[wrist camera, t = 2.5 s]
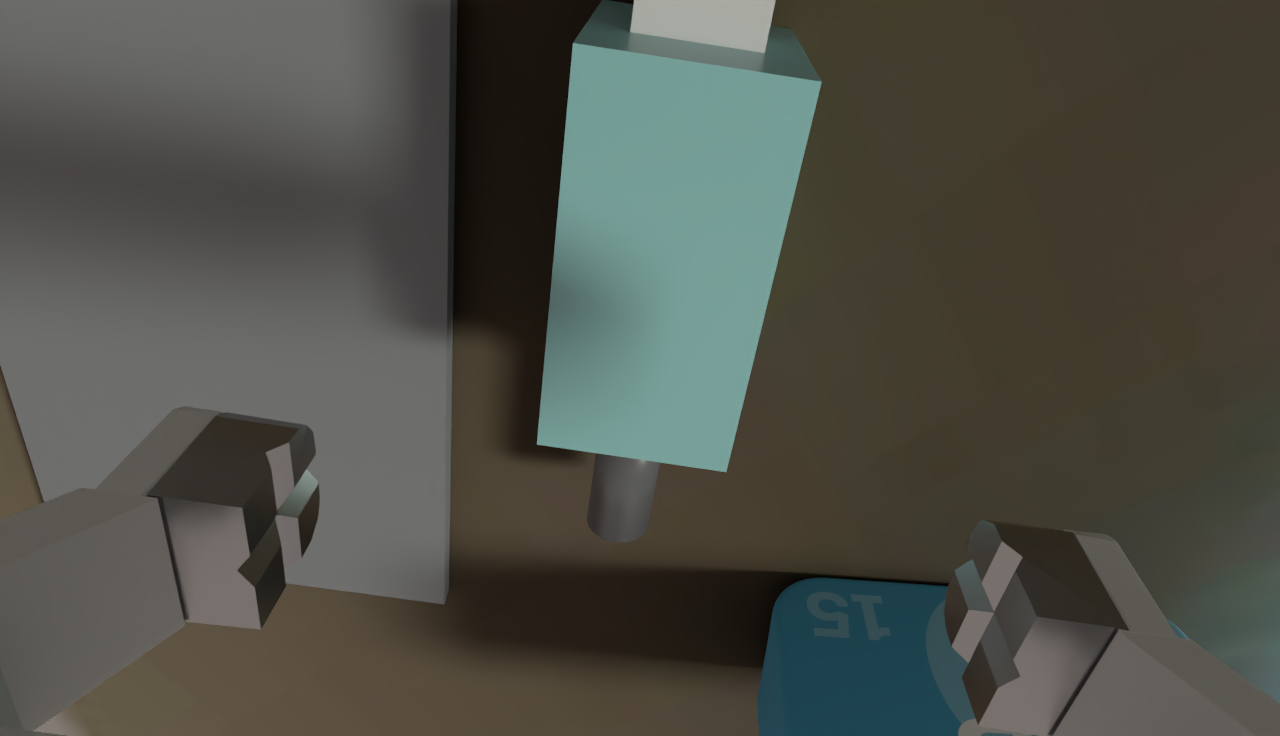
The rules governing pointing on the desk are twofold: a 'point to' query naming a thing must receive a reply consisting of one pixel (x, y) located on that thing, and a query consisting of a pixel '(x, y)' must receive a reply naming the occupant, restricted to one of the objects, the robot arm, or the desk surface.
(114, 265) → the felt mat
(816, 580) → the data package
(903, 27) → the desk surface
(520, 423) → the desk surface
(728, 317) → the connector
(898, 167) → the desk surface
